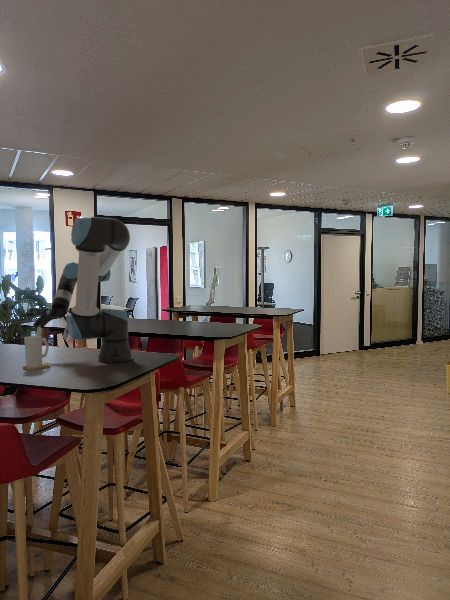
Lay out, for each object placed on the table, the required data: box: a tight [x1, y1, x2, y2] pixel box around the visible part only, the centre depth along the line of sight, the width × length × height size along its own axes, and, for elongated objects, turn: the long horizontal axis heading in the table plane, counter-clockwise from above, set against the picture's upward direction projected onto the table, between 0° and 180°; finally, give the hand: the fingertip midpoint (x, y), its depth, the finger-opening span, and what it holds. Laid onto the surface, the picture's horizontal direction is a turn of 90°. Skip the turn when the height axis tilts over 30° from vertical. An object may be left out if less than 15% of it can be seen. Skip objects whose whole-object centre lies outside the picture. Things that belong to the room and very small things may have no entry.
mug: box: [23, 335, 50, 367], centre depth 195 cm, size 10×7×12 cm, turn 139°
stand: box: [22, 362, 51, 371], centre depth 196 cm, size 11×11×1 cm
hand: (50, 339), depth 209 cm, fingers open, 13 cm apart
